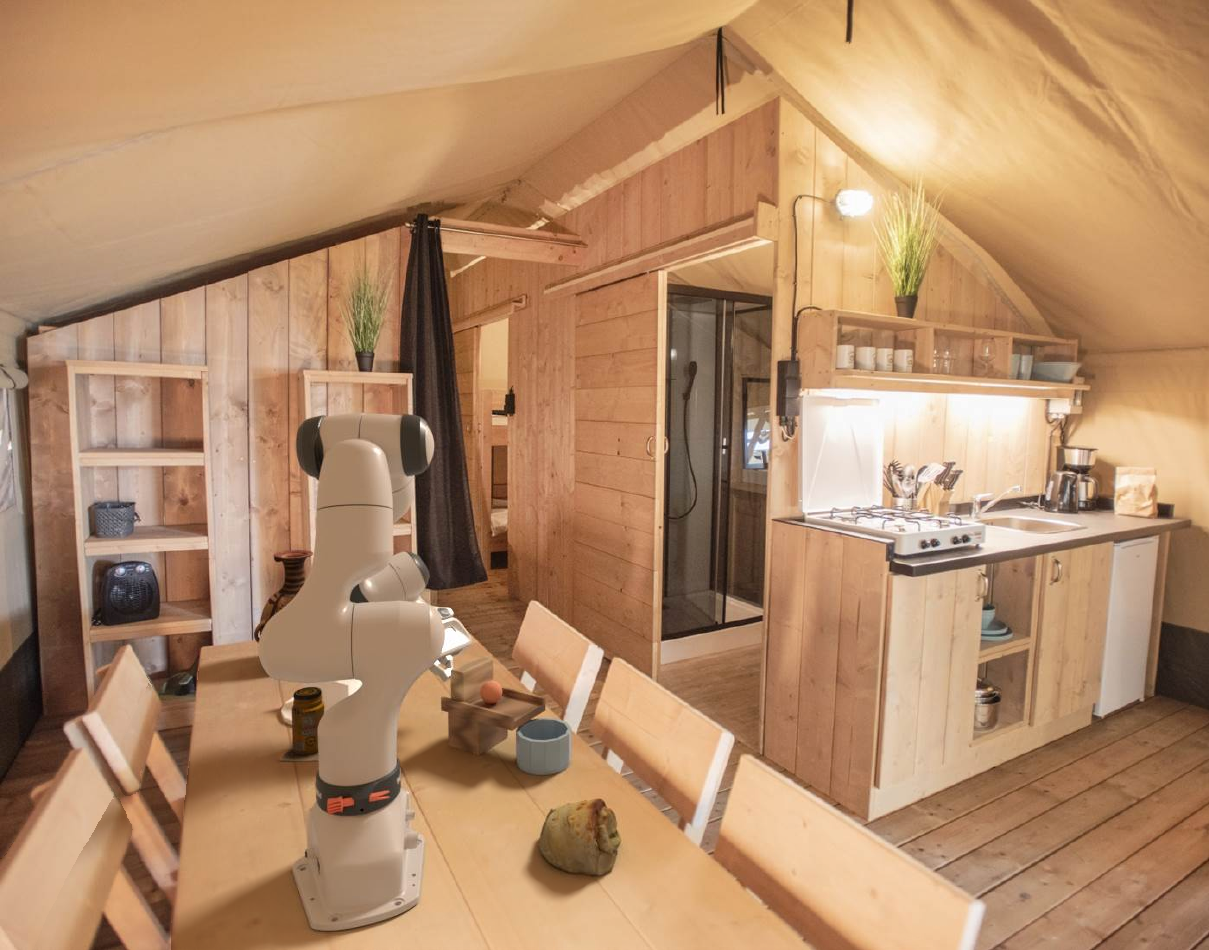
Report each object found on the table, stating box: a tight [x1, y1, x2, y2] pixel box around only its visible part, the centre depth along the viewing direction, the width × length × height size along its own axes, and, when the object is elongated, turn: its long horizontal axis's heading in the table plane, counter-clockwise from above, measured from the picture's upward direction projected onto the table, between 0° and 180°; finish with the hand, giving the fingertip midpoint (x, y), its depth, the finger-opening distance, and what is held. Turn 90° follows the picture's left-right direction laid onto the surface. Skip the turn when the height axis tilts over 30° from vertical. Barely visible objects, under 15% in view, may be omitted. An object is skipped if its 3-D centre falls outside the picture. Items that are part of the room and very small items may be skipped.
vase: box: [253, 549, 314, 644], centre depth 189 cm, size 21×18×30 cm
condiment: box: [279, 687, 324, 762], centre depth 139 cm, size 7×8×12 cm
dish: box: [280, 679, 362, 726], centre depth 162 cm, size 25×25×11 cm
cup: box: [515, 717, 573, 776], centre depth 135 cm, size 10×10×6 cm
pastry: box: [538, 797, 622, 877], centre depth 108 cm, size 14×12×8 cm
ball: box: [480, 680, 503, 704], centre depth 141 cm, size 4×4×4 cm
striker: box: [449, 656, 494, 704], centre depth 144 cm, size 4×9×7 cm, turn 149°
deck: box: [440, 685, 546, 756], centre depth 142 cm, size 18×11×10 cm, turn 59°
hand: (450, 678), depth 147 cm, fingers closed
